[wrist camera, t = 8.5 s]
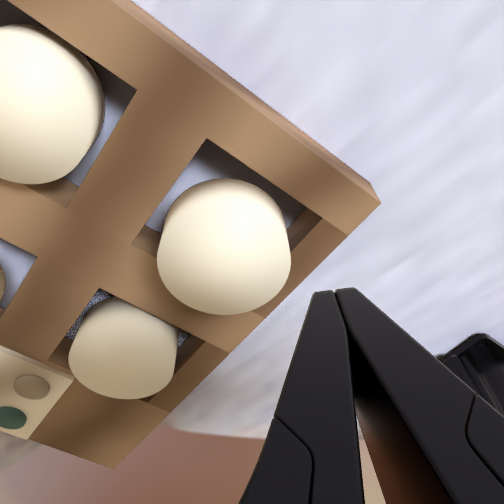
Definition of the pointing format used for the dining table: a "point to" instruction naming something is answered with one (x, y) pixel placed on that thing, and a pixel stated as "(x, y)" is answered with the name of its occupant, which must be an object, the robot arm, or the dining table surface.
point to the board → (144, 227)
